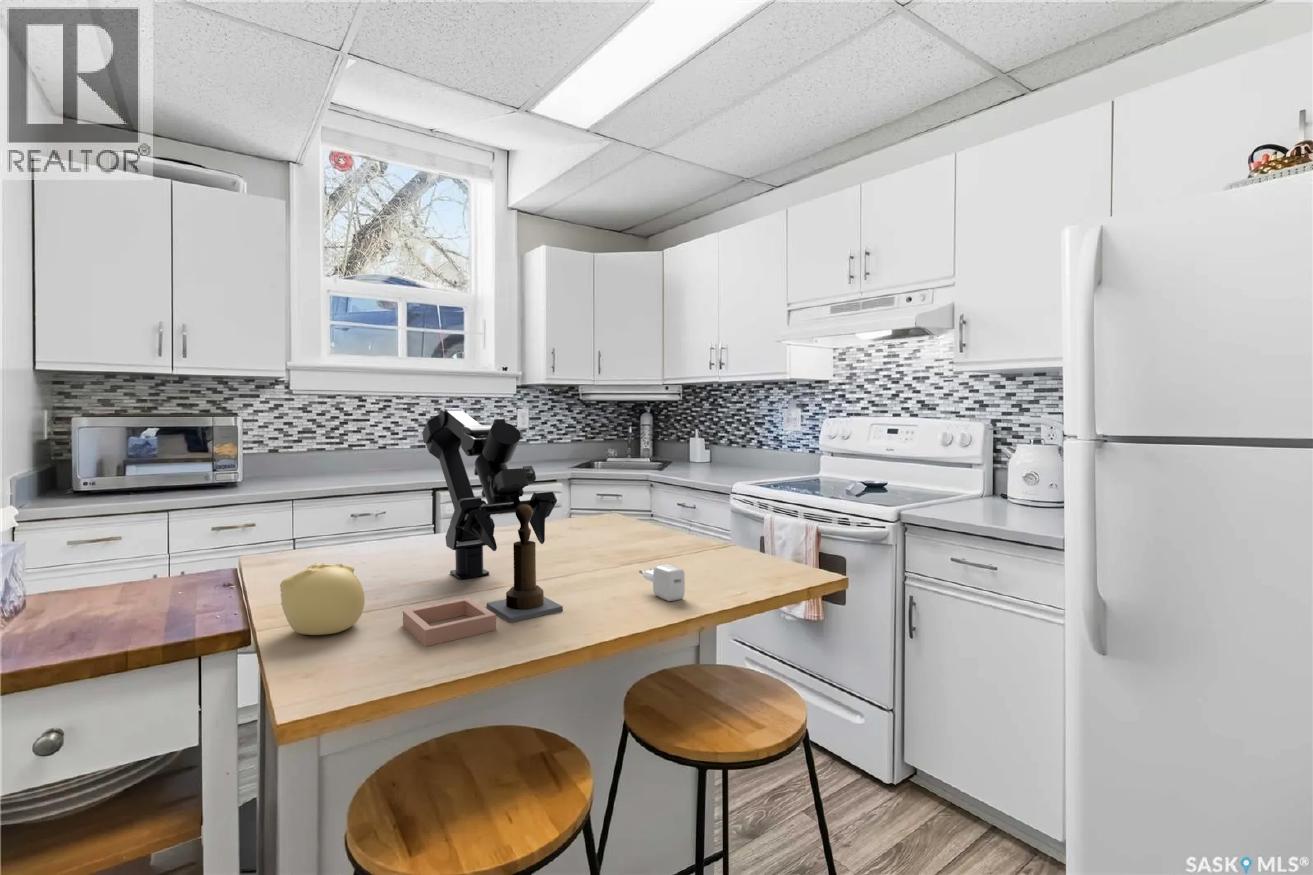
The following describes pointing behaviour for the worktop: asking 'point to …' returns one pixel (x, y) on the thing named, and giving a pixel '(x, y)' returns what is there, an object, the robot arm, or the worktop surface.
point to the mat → (523, 610)
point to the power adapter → (666, 581)
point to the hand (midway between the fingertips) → (519, 546)
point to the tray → (431, 635)
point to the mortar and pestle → (524, 567)
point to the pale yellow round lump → (322, 599)
